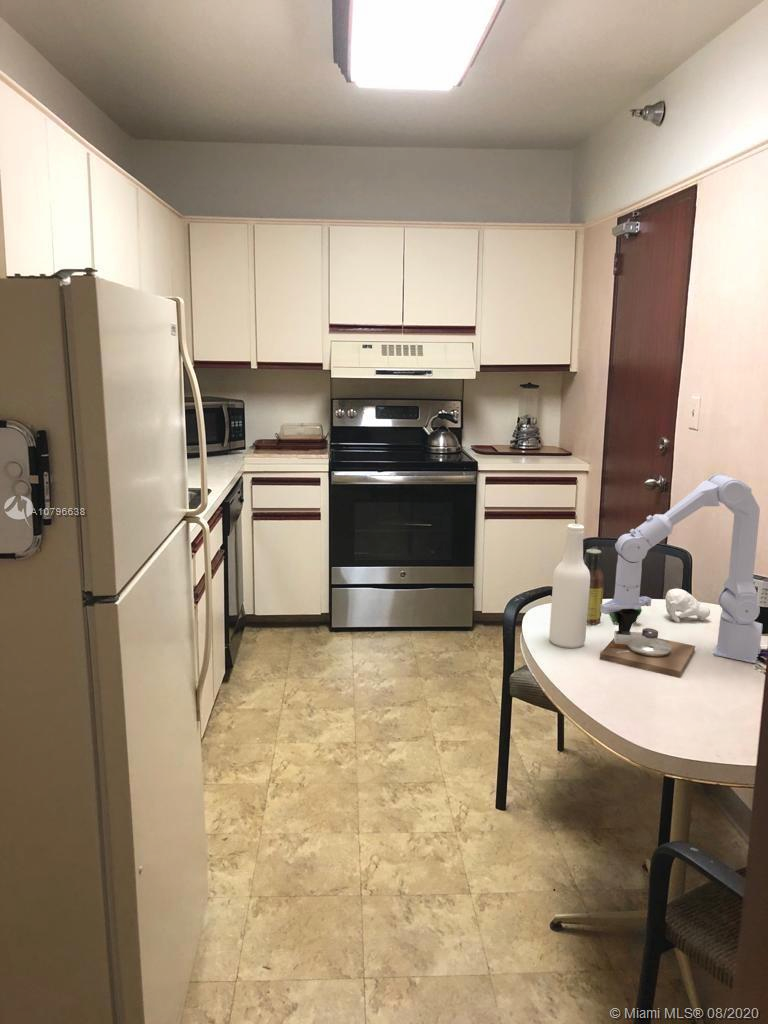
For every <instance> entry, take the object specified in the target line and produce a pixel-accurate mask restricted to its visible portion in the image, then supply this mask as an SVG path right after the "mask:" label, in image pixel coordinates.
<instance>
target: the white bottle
mask: <svg viewBox="0 0 768 1024" xmlns="http://www.w3.org/2000/svg"><path fill="white" fill-rule="evenodd" d="M566 528H567V529H566V539H565V544H564V545H565V546H564V552H563V558H562V559H561V562H560V563H558V564H557V566H556V567H555V569H554V572H553V577H552V591H551V592H552V593H551V603H550V605H551V607H550V622H549V633H548V634H549V635H548V638H549V640H550V642H551V643H552V644H553V645H554V644H555V646H557V647H560V646H561V647H560V648H564V647H565V649H577V648H581V647H582V646H583V645H584V644H585V642H586V638H587V637H586V635H587V627H588V626H587V613H588V601H589V589H590V572H589V570H588V568H587V566H586V565H585V564H586V563H585V561H584V533H585V531H584V529H585V526H584V525H582V524H579V523H570V524H568V525H567V526H566Z"/></svg>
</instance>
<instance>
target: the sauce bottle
mask: <svg viewBox="0 0 768 1024" xmlns="http://www.w3.org/2000/svg"><path fill="white" fill-rule="evenodd" d="M602 554H603V553H602V551H601V550H600V549H597V548H590V549H589V548H588V549H586V550H585V563H584V564H585V565H586V566H587V568H588V570H589V572H590V589H589V601H588V613H587V624H588V625H597V624H599V623H600V622H601V617H602V613H601V612H600V608H601V604H603V596H604V579H605V578H604V574H603V571H602V570H601V558H602Z"/></svg>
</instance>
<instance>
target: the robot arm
mask: <svg viewBox="0 0 768 1024" xmlns="http://www.w3.org/2000/svg"><path fill="white" fill-rule="evenodd" d="M720 503H721V504H723V505H724V506H725V507H726V508H727V509H728V510H729V511H730V512H731V513H732V514H733V525H732V536H731V546H730V557H729V569H728V578H726V580H724V582H723V588H722V590H721V592H720V593H719V595H718V600H717V601H718V604H719V607H720V608H721V609H722V610H721V613H720V619H719V627H718V635H717V643H716V644H715V647H714V649H713V651H712V655H713V656H719V657H722V658H723V657H724V658H728V659H731V660H738V661H742V662H747V663H751V664H756V663H757V661H758V658H759V655H760V654H761V648H762V646H761V641H762V633H763V623H761V622H758V621H755V620H756V619H757V618H758V617H759V615H760V611H761V609H760V605H759V602H758V600H757V599H758V593H757V590H756V587H755V585H754V574H755V561H756V554H757V552H756V551H757V543H758V533H759V523H760V514H761V512H760V511H761V509H760V506H759V504H758V503H757V500H756V499H755V497H754V494H753V493H752V488H751V487H750V486H749V485H748V484H746V483H745V482H744V481H743V480H740V479H736V478H734V477H730V476H729V475H727V474H725V473H721V472H720V473H715V474H713V475H711V476H710V477H708V479H706V480H705V479H704V481H702V482H701V483H700V484H699V485H698V486H696V488H695V489H694V490H692V491H691V492H690V493H689V494H688V495H686V496H685V497H684V498H683V499H681V500H680V501H678V502H677V503H676V504H675V505H674V506H673V507H671V508H670V509H669V510H667V511H666V512H665V513H664V514H663V513H662V514H661V513H660V514H658V513H655V514H653V516H652V515H651V514H649V515H648V516H646V520H645V521H644V522H643V523H641V524H640V525H639V526H637V527H636V528H635V529H634V528H631V529H630V530H629V533H624V534H622V535H620V536H619V538H618V539H617V541H616V543H615V544H614V547H615V550H616V552H617V553H618V554H617V563H616V570H615V571H616V572H615V584H614V586H615V587H614V594H615V595H614V594H613V596H614V599H613V598H612V599H613V600H612V599H611V600H609V601H607V602H604V603H602V604H601V608H600V612H601V614H604V615H610V612H613V613H614V615H615V617H616V619H617V622H618V623H617V625H618V630H617V631H627V632H631V629H632V626H633V625H634V624H635V623H634V621H635V619H636V618H637V619H638V617H639V616H640V615H639V611H637V610H635V609H640V608H641V609H642V607H645V606H646V607H651V606H652V598H651V597H649V596H643V595H642V596H640V593H641V584H642V583H641V582H642V568H643V567H642V564H643V560H645V558H646V556H647V554H648V551H649V550H650V549H651V548H653V547H655V546H656V545H657V544H659V543H661V542H662V541H663V540H664V539H665V538H667V537H668V536H670V535H671V534H672V532H673V530H674V529H673V528H674V526H675V525H677V524H678V523H680V522H681V521H683V520H684V519H686V518H687V517H689V516H690V515H692V514H693V513H695V512H697V511H698V510H700V509H701V508H704V507H720ZM758 654H759V655H758ZM757 657H758V658H757ZM756 660H757V661H756Z"/></svg>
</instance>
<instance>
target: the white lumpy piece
mask: <svg viewBox="0 0 768 1024" xmlns="http://www.w3.org/2000/svg"><path fill="white" fill-rule="evenodd" d="M665 609H666V612H667V614H668V615H669V616H670V617H671V619H672V620H673V622H676V623H677V622H678V623H680V622H681V619H684V618H687V617H693V616H696V618H697V620H698V621H701V622H704V621H705V620H706V619H707V618H708V617H709V616H711V608H710V607H709V606H708V605H706V604H703V603H701V602H699V601H698V600H697V599H696V598H695V597H694V596H693V595H692V594H691V593H689V592H688V591H686V590H684V589H682V588H681V589H680V588H672V589H669V590H668V591H667V592H666V595H665ZM676 612H680V613H679V615H676ZM679 617H680V618H681V619H680V618H679Z"/></svg>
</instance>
